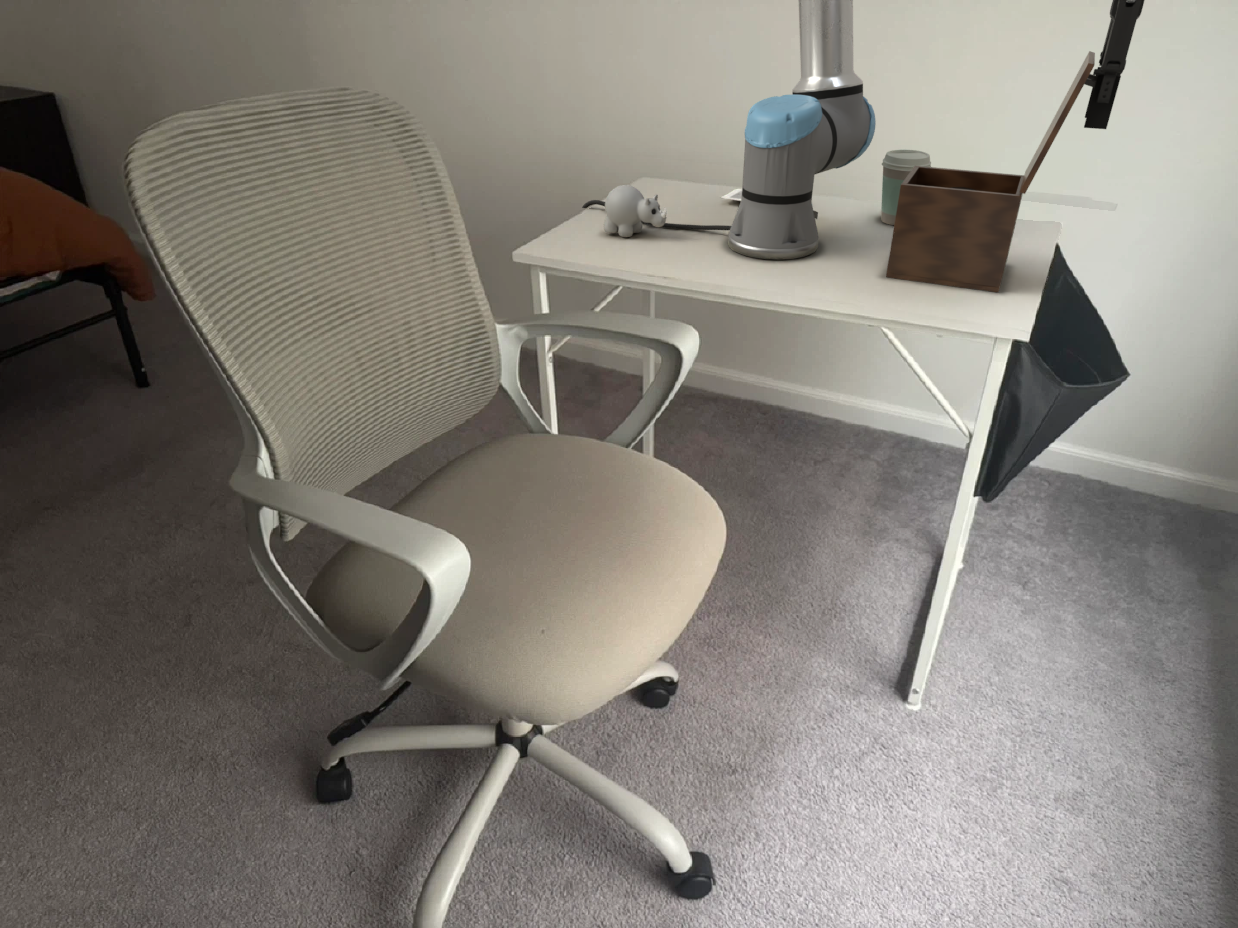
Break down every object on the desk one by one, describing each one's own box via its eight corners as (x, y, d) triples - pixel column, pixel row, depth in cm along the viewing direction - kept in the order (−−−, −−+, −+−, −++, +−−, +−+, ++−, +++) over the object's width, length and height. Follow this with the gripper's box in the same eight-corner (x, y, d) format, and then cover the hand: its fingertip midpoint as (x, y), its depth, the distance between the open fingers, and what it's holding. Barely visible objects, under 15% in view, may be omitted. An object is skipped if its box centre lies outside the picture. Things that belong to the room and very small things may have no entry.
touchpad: (736, 193, 176) (737, 183, 174) (806, 203, 169) (807, 192, 168) (720, 203, 170) (720, 192, 169) (791, 213, 163) (792, 202, 162)
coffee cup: (926, 218, 160) (938, 151, 154) (914, 230, 154) (926, 161, 148) (881, 211, 164) (890, 146, 158) (867, 223, 158) (877, 156, 152)
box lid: (1088, 62, 110) (1127, 75, 109) (1089, 50, 120) (1125, 62, 118) (1019, 191, 121) (1054, 204, 120) (1025, 171, 130) (1057, 183, 129)
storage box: (885, 277, 134) (900, 184, 127) (900, 253, 144) (914, 165, 136) (998, 292, 128) (1021, 196, 121) (1005, 266, 138) (1027, 175, 130)
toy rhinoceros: (654, 246, 148) (655, 196, 144) (597, 235, 154) (596, 187, 149) (675, 235, 153) (676, 187, 149) (619, 225, 159) (618, 178, 155)
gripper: (1113, -75, 115) (1067, 108, 127) (1115, -74, 100) (1063, 134, 112) (1177, -76, 112) (1124, 112, 124) (1189, -74, 97) (1127, 139, 109)
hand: (1095, 122), depth 118 cm, fingers open, 7 cm apart
